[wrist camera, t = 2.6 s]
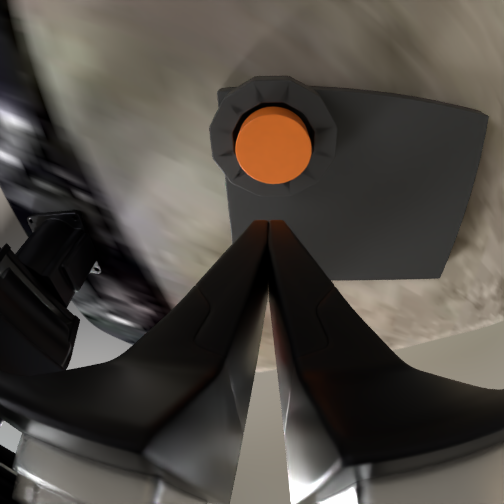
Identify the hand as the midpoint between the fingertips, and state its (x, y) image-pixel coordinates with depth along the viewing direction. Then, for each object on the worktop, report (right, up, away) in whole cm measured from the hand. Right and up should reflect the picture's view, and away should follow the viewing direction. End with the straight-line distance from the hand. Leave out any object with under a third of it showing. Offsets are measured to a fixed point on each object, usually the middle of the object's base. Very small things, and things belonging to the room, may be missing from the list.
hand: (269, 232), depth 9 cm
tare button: (+1, +5, +6) cm, 8 cm away
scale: (+6, +3, +11) cm, 13 cm away
